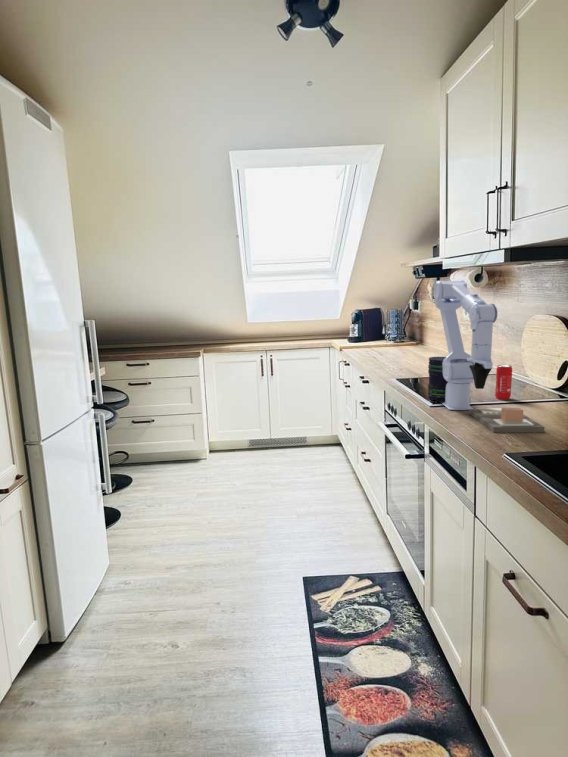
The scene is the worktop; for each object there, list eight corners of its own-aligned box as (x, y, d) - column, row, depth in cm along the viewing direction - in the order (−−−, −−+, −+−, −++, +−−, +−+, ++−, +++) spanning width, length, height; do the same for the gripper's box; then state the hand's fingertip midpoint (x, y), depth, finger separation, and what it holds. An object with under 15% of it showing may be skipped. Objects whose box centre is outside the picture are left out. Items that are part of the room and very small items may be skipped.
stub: (493, 420, 151) (494, 407, 150) (524, 420, 150) (525, 407, 150) (500, 425, 145) (501, 412, 144) (533, 425, 144) (534, 412, 144)
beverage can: (501, 400, 183) (503, 367, 181) (491, 397, 188) (493, 365, 186) (513, 399, 185) (515, 366, 183) (503, 396, 190) (505, 364, 188)
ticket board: (468, 413, 166) (468, 407, 165) (512, 413, 165) (513, 407, 165) (493, 432, 144) (493, 425, 144) (544, 432, 143) (544, 425, 143)
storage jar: (452, 396, 192) (454, 356, 189) (458, 402, 182) (460, 360, 180) (425, 396, 193) (426, 356, 190) (429, 401, 183) (431, 360, 181)
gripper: (461, 342, 163) (459, 384, 165) (476, 347, 149) (473, 393, 151) (483, 341, 163) (481, 383, 165) (500, 346, 148) (498, 393, 151)
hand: (479, 388), depth 158 cm, fingers closed
